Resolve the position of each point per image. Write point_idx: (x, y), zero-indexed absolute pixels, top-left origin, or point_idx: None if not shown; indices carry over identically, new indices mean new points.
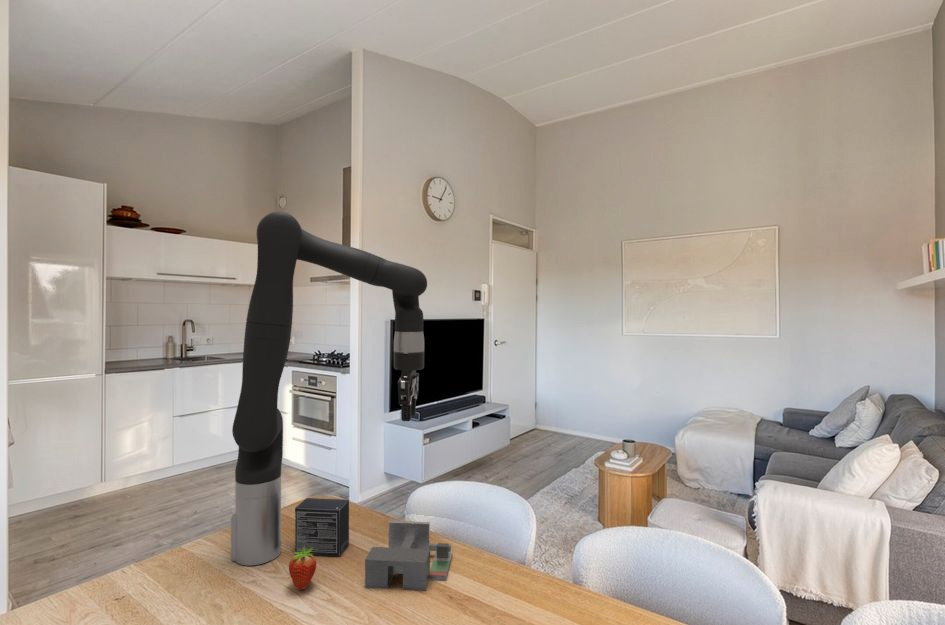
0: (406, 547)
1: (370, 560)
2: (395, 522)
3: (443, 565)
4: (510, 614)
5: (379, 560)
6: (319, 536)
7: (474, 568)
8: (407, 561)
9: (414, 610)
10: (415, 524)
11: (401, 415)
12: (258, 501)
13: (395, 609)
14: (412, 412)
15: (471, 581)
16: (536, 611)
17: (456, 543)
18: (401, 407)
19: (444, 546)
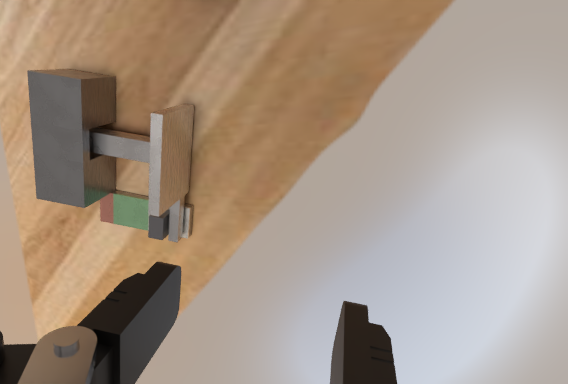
0: (135, 152)
1: (28, 83)
2: (152, 131)
3: (132, 218)
4: (36, 297)
5: (30, 103)
6: None
7: (147, 267)
8: (34, 162)
9: (22, 163)
10: (150, 182)
11: (141, 278)
12: None
13: (19, 132)
14: (335, 350)
15: (108, 257)
16: (47, 330)
17: (237, 246)
18: (104, 318)
19: (149, 230)
